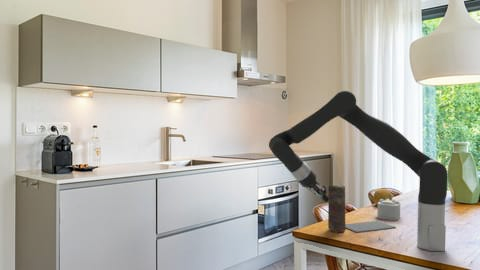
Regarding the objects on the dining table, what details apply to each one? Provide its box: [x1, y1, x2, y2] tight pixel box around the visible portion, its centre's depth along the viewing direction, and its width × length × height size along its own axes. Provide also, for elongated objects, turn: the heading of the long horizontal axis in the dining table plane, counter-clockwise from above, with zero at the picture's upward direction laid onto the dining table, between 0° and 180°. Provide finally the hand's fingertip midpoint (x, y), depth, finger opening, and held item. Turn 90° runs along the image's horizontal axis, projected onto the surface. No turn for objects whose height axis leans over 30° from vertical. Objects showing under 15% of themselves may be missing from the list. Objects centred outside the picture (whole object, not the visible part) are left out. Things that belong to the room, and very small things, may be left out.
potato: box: [372, 188, 393, 207], centre depth 222 cm, size 10×12×10 cm
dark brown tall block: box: [327, 184, 346, 233], centre depth 167 cm, size 8×7×20 cm
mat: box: [345, 220, 397, 233], centre depth 174 cm, size 22×12×1 cm, turn 112°
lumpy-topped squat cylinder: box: [376, 198, 401, 221], centre depth 195 cm, size 10×13×9 cm
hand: (326, 200), depth 165 cm, fingers closed
